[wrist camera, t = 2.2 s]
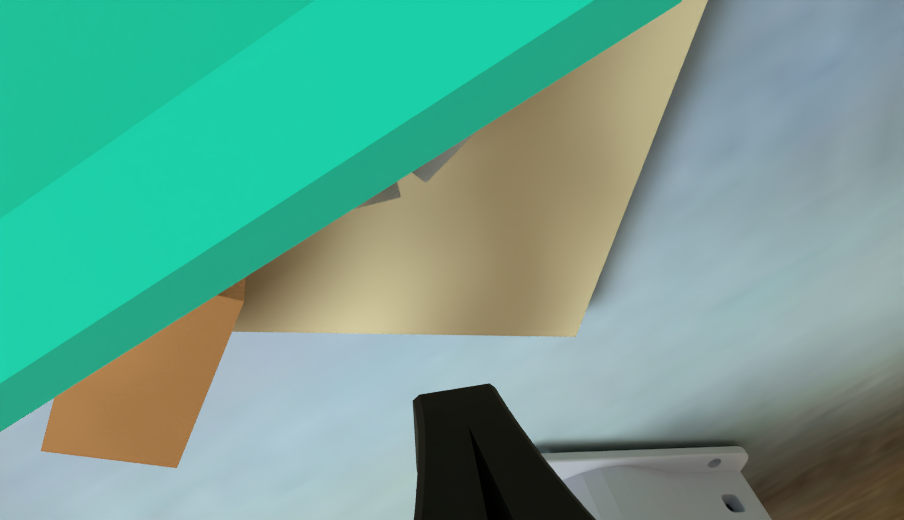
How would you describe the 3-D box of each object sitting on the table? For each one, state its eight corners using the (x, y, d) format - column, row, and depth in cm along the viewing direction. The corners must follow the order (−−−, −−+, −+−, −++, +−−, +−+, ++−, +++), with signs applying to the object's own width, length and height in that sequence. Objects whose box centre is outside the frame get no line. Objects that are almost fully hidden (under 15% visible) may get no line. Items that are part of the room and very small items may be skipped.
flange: (-39, -670, 8) (-236, -941, 5) (638, -199, 12) (759, -186, 9) (-117, 280, 14) (-222, 418, 11) (341, 371, 18) (354, 489, 15)
